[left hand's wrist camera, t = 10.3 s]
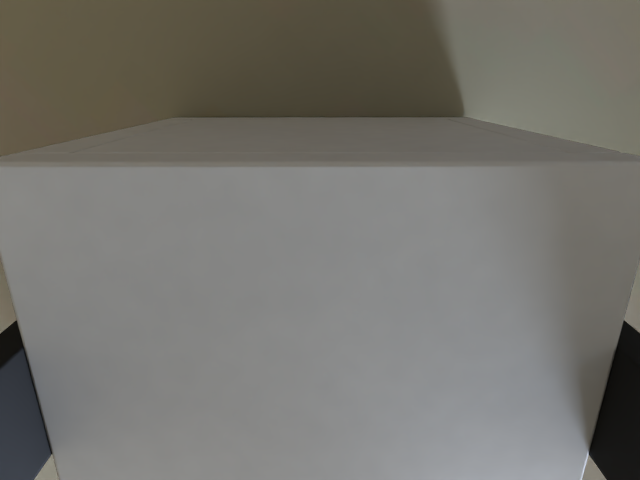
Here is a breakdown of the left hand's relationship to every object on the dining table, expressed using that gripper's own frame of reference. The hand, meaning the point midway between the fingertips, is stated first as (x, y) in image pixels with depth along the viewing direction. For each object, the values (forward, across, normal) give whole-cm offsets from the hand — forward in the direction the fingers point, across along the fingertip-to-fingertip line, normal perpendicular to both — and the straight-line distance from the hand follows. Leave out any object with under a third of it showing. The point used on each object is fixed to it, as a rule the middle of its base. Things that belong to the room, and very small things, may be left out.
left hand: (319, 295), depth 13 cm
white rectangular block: (+6, 0, -6) cm, 8 cm away
